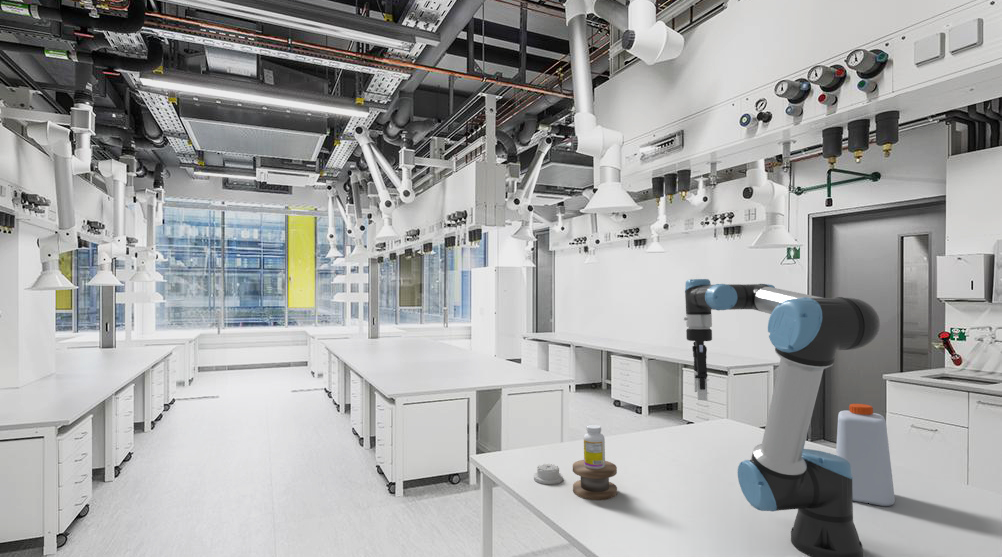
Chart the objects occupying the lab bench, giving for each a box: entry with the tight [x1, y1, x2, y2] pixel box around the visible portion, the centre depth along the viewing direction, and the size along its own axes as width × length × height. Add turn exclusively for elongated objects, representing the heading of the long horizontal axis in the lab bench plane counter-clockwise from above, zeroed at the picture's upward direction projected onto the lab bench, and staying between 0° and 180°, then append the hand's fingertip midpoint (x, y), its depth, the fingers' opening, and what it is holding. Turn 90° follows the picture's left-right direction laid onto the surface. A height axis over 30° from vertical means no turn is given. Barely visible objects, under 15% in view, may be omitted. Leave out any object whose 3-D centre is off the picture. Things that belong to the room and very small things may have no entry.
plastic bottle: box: [835, 403, 896, 507], centre depth 160 cm, size 15×15×28 cm
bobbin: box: [572, 459, 618, 501], centre depth 165 cm, size 14×14×8 cm
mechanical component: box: [533, 463, 564, 485], centre depth 176 cm, size 10×4×10 cm
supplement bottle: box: [583, 424, 606, 469], centre depth 165 cm, size 7×7×13 cm
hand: (700, 396), depth 160 cm, fingers open, 13 cm apart
